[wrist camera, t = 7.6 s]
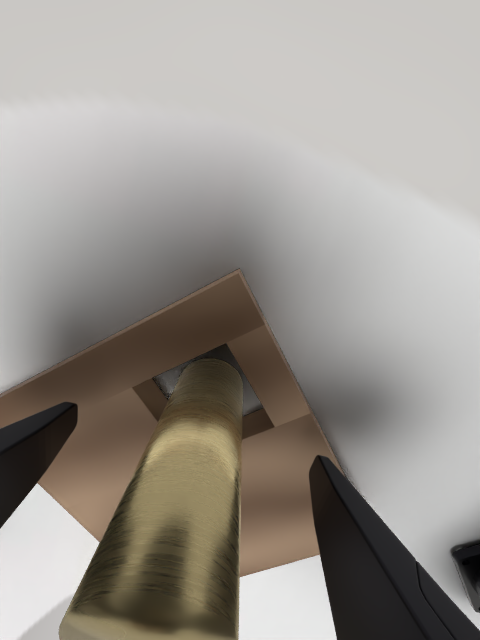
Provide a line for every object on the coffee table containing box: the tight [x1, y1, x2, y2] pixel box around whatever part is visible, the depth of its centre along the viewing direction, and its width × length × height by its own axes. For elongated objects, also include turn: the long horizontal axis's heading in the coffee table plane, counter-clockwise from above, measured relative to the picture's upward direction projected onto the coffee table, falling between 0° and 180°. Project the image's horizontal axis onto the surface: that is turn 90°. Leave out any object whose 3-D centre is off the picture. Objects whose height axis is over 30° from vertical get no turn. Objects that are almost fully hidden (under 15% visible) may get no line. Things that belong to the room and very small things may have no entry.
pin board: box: [0, 268, 346, 577], centre depth 10 cm, size 16×14×7 cm
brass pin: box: [59, 358, 243, 640], centre depth 8 cm, size 3×3×8 cm
